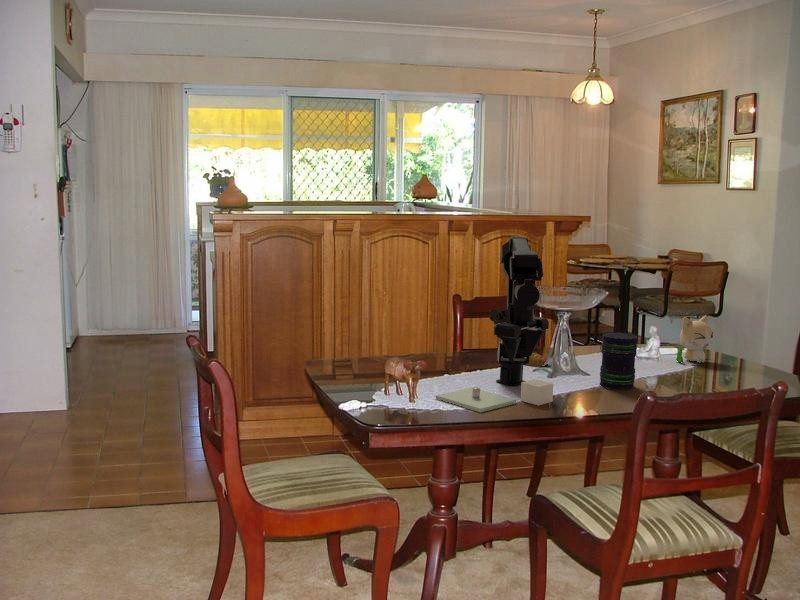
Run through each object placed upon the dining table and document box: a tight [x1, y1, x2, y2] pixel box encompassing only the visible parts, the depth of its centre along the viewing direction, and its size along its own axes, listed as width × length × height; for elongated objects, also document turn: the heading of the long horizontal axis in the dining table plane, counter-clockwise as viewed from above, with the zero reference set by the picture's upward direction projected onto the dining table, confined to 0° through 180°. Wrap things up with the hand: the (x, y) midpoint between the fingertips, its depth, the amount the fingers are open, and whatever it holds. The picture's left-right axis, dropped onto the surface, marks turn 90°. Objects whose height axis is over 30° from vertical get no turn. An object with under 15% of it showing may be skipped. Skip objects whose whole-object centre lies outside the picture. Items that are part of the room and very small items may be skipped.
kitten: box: [675, 314, 714, 364], centre depth 278 cm, size 15×10×15 cm
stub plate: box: [435, 386, 517, 413], centre depth 223 cm, size 14×16×4 cm
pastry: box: [523, 352, 548, 367], centre depth 268 cm, size 9×7×4 cm
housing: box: [520, 378, 554, 406], centre depth 224 cm, size 6×6×5 cm
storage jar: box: [599, 331, 638, 391], centre depth 242 cm, size 10×10×15 cm
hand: (520, 358), depth 223 cm, fingers open, 9 cm apart
